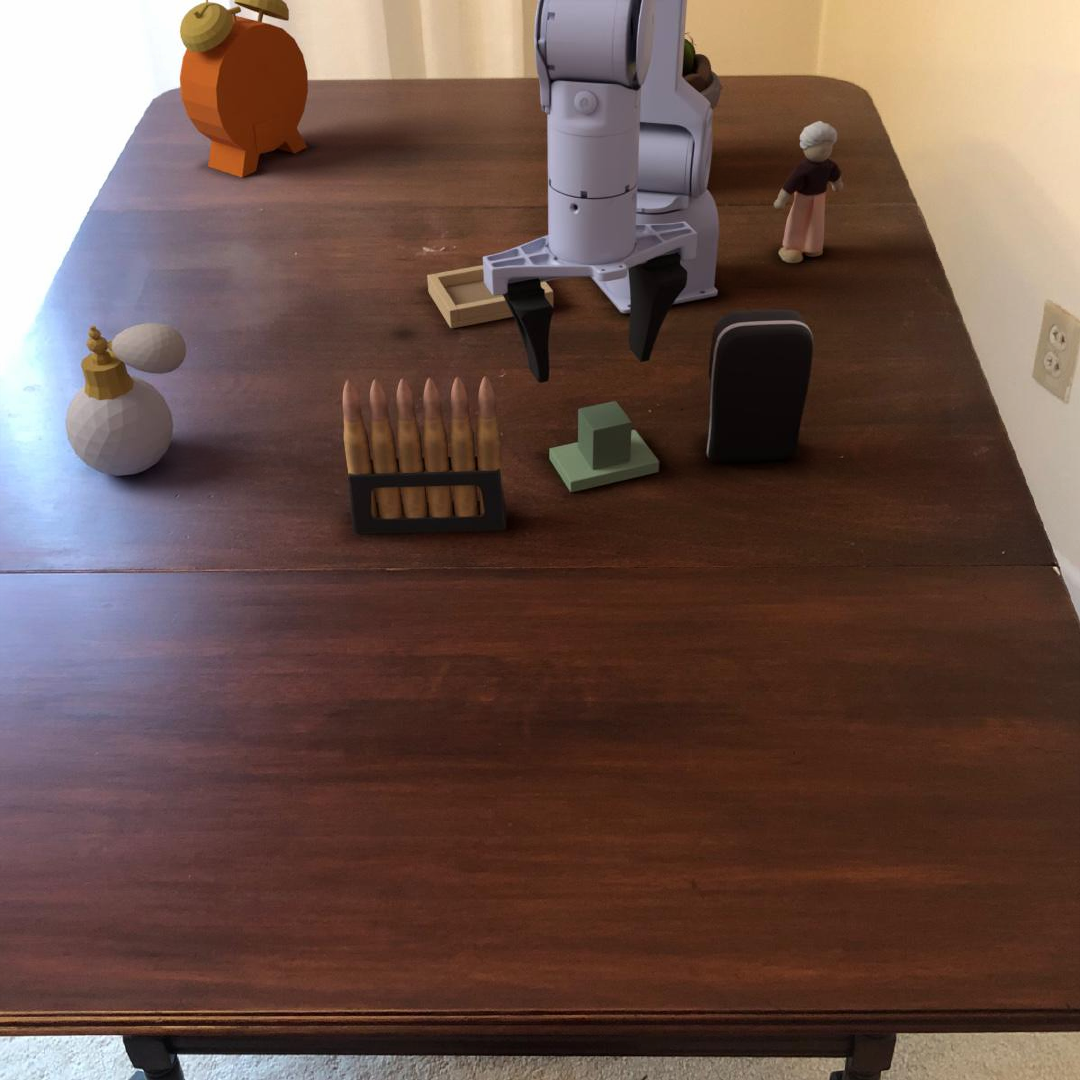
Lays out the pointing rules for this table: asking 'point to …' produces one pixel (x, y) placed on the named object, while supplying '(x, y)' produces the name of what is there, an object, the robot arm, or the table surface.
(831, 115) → the table surface
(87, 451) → the perfume bottle
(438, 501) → the ammunition clip
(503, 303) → the socket pad
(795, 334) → the battery charger
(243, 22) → the alarm clock
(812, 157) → the grandmother figurine
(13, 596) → the table surface
